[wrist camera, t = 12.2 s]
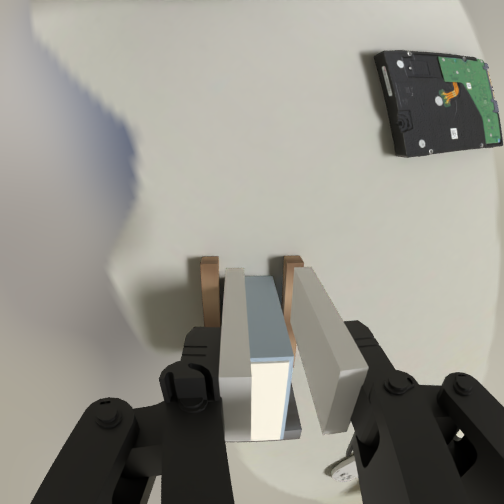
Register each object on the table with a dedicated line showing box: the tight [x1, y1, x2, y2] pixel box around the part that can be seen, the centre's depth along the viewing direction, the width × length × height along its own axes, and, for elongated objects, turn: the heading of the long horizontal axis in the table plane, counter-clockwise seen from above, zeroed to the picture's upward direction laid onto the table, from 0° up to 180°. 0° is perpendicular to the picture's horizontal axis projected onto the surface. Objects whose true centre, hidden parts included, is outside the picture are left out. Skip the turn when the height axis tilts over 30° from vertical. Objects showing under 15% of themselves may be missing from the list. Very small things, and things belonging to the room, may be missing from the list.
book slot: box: [200, 256, 304, 442], centre depth 25 cm, size 14×9×10 cm, turn 0°
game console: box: [331, 455, 358, 482], centre depth 41 cm, size 18×2×8 cm
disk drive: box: [374, 50, 503, 158], centre depth 23 cm, size 10×3×15 cm
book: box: [245, 276, 294, 441], centre depth 24 cm, size 9×4×12 cm, turn 0°
